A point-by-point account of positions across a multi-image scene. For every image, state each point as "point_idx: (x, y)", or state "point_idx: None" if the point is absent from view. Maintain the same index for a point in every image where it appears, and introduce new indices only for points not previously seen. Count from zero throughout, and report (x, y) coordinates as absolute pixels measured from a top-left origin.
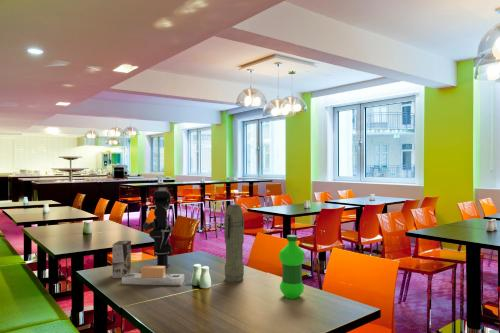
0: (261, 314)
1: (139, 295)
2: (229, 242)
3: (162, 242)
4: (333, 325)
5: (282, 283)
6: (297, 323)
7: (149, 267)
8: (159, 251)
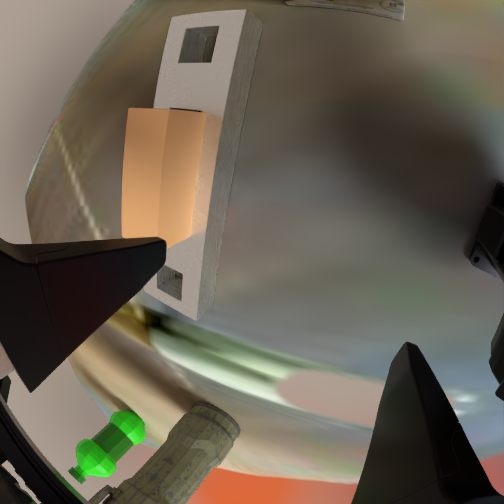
0: (77, 349)
1: (91, 141)
2: (122, 482)
3: (408, 374)
4: (82, 384)
5: (115, 422)
6: (74, 363)
7: (132, 156)
8: None
